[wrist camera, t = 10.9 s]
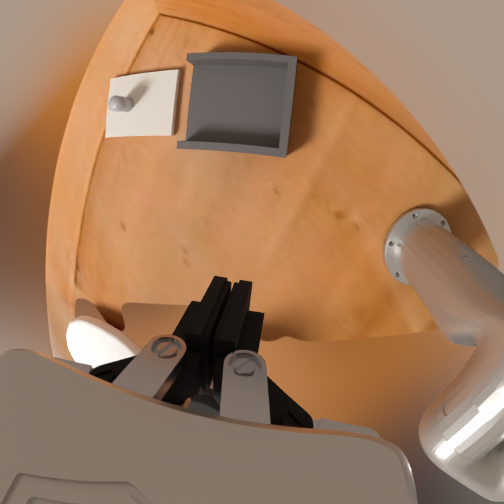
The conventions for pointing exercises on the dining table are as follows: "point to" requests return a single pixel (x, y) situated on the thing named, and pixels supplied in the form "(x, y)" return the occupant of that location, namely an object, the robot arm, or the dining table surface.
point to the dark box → (240, 102)
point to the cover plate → (143, 104)
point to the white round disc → (98, 342)
